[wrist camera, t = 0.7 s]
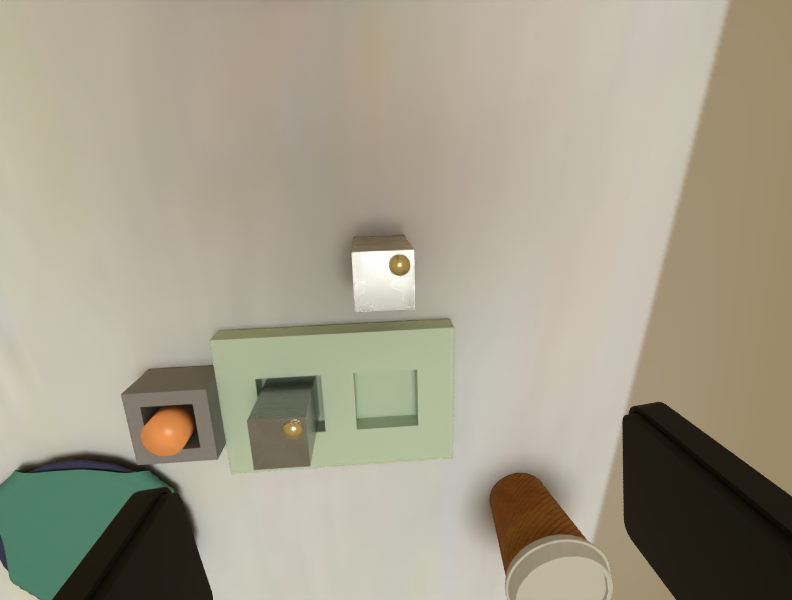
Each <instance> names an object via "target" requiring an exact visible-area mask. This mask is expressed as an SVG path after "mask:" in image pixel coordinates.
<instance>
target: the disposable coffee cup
mask: <svg viewBox="0 0 792 600" xmlns="http://www.w3.org/2000/svg"><path fill="white" fill-rule="evenodd" d="M490 505H491V509H492V514H493V519H494V523H495V528H496V533H497V537H498V542H499V547H500V552H501V556H502V560H503V565H504V570H505V574H506V579H505V580H506V582H505V592H506V597H507V600H610V599H611V595H612V590H613V584H612V579H611V576H610V566H609V563H608V561H607V559H606V557H605V556H604V554H603V553H602V552H601V551H600V550H599V549H598V548H597V547H596V546H594V545H593V544H591V543H590V542H589V541H587V539H585V537H584V536H583V534H581V532H580V531H579V529H578V528H577V527H576V526H575V525H574V523H573V522H572V521H571V520H570V518H569V517H568V516H567V514H566V513H565V512H564V510H563V509H562V508H561V507H560V505H559V504H558V503H557V502H556V501H555V500H554V498H553V497H552V496H551V494H550V493H549V492H548V491H547V489H546V488H545V487H544V486H543V484H542V483H541V482H540V481H539V479H537V478H536V477H534V476H532V475H529V474H525V473H517V474H513V475H509V476H507V477H505V478H503V479H502V480H500V481H499V482H498V483H497V484H496V485H495V486H494V488H493V490H492V492H491V495H490Z"/></svg>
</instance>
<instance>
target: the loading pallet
mask: <svg viewBox="0 0 792 600" xmlns="http://www.w3.org/2000/svg"><path fill="white" fill-rule="evenodd" d="M210 346H211V353H212V359H213V365H212V366H194V367H176V368H159V369H149V370H148V371H146V372H145V373H144V374H143V375H142V376H141V377H140V378H139V379H138V380H137V381H135V382H134V383H133V384H132V385H131V386H130V387H129V388H128V389H127V390H125V391H124V392H123V393H122V394H121V396H122V401H123V405H124V409H125V414H126V418H127V422H128V426H129V431H130V435H131V439H132V444H133V448H134V452H135V457H136V461H137V465H145V464H159V463H174V462H188V461H202V460H217V459H218V458H219V456H220V454H221V452H222V450H223V448H224V446H225V444H226V445H227V451H228V458H229V464H230V470H231V474H237V473H251V472H265V471H279V470H293V469H307V468H321V467H335V466H349V465H363V464H377V463H391V462H405V461H419V460H433V459H447V458H453V442H454V326H453V324H452V323H451V321H450V319H435V320H416V321H397V322H378V323H358V324H339V325H320V326H301V327H282V328H262V329H243V330H224V331H218V332H217V333H216V334H215V335H214V336H213V337H212V338H211V339H210ZM315 375H316V378H317V389H318V400H319V411H320V417H319V422H318V428H317V433H316V438H315V444H314V449H313V455H312V460H311V466H306V467H292V468H278V469H264V470H254V467H253V460H252V453H251V446H250V439H249V432H248V426H247V419H248V417H249V415H250V413H251V411H252V409H253V407H254V405H255V403H256V401H257V398H258V396H259V394H260V392H261V390H262V388H263V386H264V384H265V382H266V379H267V378H281V377H298V376H315ZM183 404H189V405H190V406H192V407H193V409H194V414H195V420H196V425H197V427H196V429H195V431H194V432H193V434H192V435H191V437H190V438H189V440H188V441H187V443H186V444H185V446H184V447H183V449H182V450H181V451H180V452H178V453H177V454H175V455H172V456H158V455H155V454H153V453H151V452H150V451H148V450H147V449H146V448H145V447H144V445H143V443H142V441H141V431H142V429H143V427H144V426H145V425H146V424H147V423H148V421H149V420H150V419H151V418H152V417H153V416H154V414H155V413H156V412H157V411H158V410H159V409H160V408H161V407H162V406H167V405H183Z"/></svg>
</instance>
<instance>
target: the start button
mask: <svg viewBox="0 0 792 600" xmlns="http://www.w3.org/2000/svg"><path fill="white" fill-rule="evenodd" d="M196 427H197V425H196V420H195V414H194V409H193V407H192V406H190V405H189V404H183V405H167V406H162V407H161V408H160V409H159V410H158V411H157V412H156V413H155V414H154V416H153V417H152V418H151V419H150V420H149V421H148V423H147V424H146V425H145V426H144V427H143V429H142V431H141V441H142V443H143V445H144V447H145V448H146V449H147V450H148V451H150V452H151V453H153V454H155V455H158V456H172V455H175V454H177V453H178V452H180V451H181V450H182V449H183V447H184V446H185V444H186V443H187V441H188V440H189V438H190V437H191V435H192V434H193V432H194V431H195V429H196Z"/></svg>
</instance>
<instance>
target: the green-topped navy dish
mask: <svg viewBox="0 0 792 600" xmlns="http://www.w3.org/2000/svg"><path fill="white" fill-rule="evenodd" d="M159 487H168V488H169V489H170V490H171V492H172V493H174V489H173V488H172V487H170V486H168V485H167V484H166V483H165V482H163V481H161V480H159V478H158V477H157V476H155V475H153V474H152V473H151V472H150V471H140V472H135V471H132V470H130V469H127V468H125V467H122V466H120V465H117V464H114V463H107V462H100V461H92V460H84V459H77V460H69V461H61V462H54V463H48V464H45V465H43V466H41V467H39V468H36V469H34V470H32V471H30V472H27V473H21V472H19V471H18V470H15V471H14V472H13V474H12V475H11V476H10V477H9V478H8V479H7V480H6V481H5V482H4V483H3V484H1V485H0V560H1V562H2V564H3V566H4V567H5V568H6V569H7V570H8V572H9V577H10V580H11V581H12V582H13V584H15V585H17V586H19V587H20V588H21V589H23V590H25V591H27V592H28V593H29V594H31V595H34V596H36V597H37V598H38V599H40V600H52V599H53V598H54V596H55V595H56V594H57V592H58V591H59V590H60V588H61V587H62V586H63V584H64V583H65V582H66V581H67V579H68V578H69V577H70V575H71V574H72V573H73V571H74V570H75V569H76V567H77V566H78V565H79V563H80V562H81V561H82V560H83V558H84V557H85V556H86V554H87V553H88V552H89V550H90V549H91V548H92V546H93V545H94V544H95V542H96V541H97V540H98V539H99V537H100V536H101V535H102V533H103V532H104V531H105V529H106V528H107V527H108V525H109V524H110V523H111V521H112V520H113V519H114V517H115V516H116V515H117V514H118V512H119V511H120V510H121V508H122V507H123V506H124V504H125V503H126V502H127V500H128V499H129V498H130V496H131V495H132V494H133V493H135V492H137V491H142V490H148V489H153V488H159ZM186 516H187V515H186ZM187 519H188V518H187Z"/></svg>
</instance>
